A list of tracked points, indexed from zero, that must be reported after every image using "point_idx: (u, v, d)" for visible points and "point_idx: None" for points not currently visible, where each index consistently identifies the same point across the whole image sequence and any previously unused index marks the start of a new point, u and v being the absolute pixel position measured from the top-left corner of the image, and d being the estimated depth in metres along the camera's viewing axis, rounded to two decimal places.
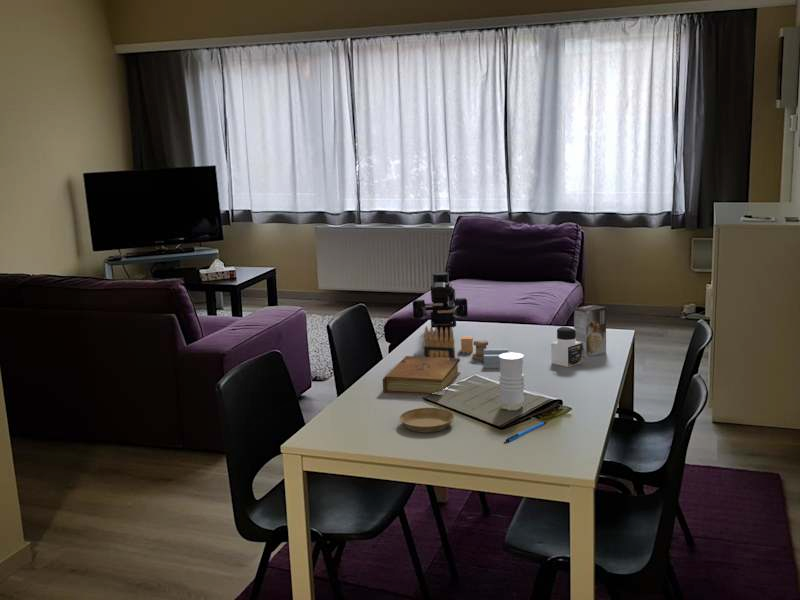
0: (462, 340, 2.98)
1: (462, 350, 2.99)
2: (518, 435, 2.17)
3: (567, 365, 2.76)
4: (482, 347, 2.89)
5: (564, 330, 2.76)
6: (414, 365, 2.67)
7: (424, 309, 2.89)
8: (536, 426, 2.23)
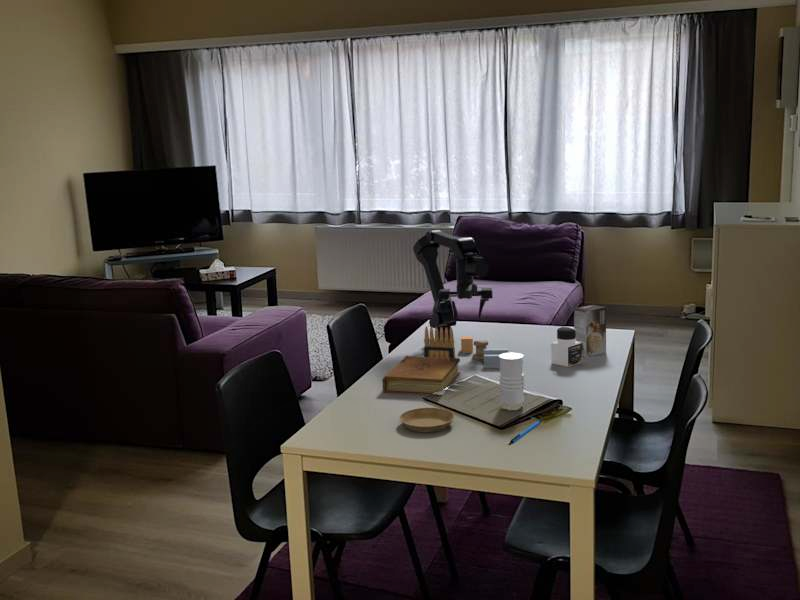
0: (462, 340, 2.98)
1: (462, 350, 2.99)
2: (520, 435, 2.17)
3: (567, 365, 2.76)
4: (482, 347, 2.89)
5: (564, 330, 2.76)
6: (414, 365, 2.67)
7: (451, 310, 2.97)
8: (533, 425, 2.24)
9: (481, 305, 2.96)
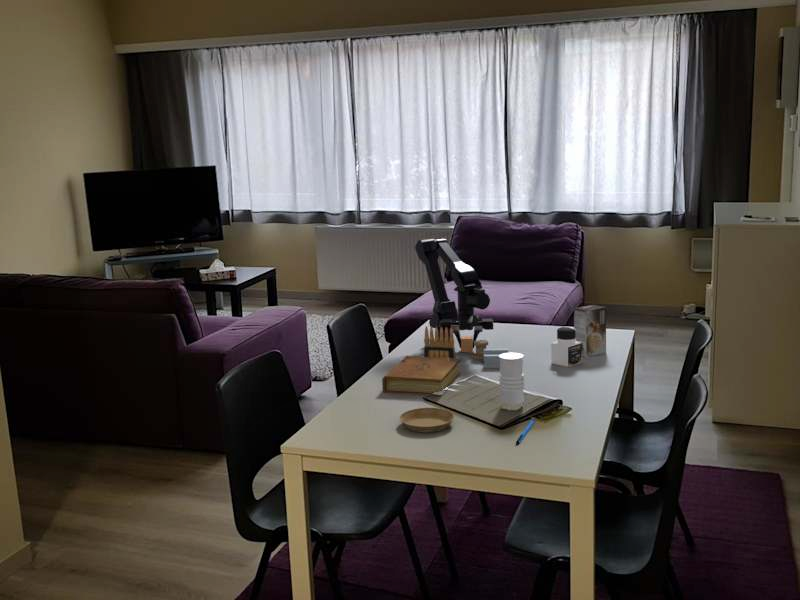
0: (462, 340, 2.98)
1: (462, 350, 2.99)
2: (523, 436, 2.17)
3: (567, 365, 2.76)
4: (482, 347, 2.89)
5: (564, 330, 2.76)
6: (414, 365, 2.67)
7: (459, 340, 2.99)
8: (530, 425, 2.24)
9: (475, 336, 2.98)
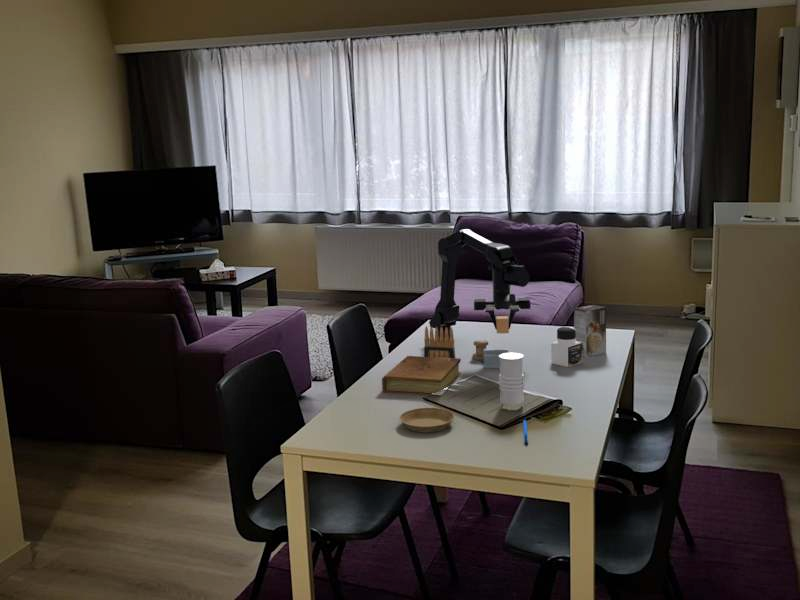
0: (497, 320, 2.85)
1: (497, 331, 2.86)
2: (527, 436, 2.17)
3: (567, 365, 2.76)
4: (482, 347, 2.89)
5: (564, 330, 2.76)
6: (414, 365, 2.67)
7: (494, 320, 2.86)
8: (526, 425, 2.25)
9: (511, 316, 2.85)
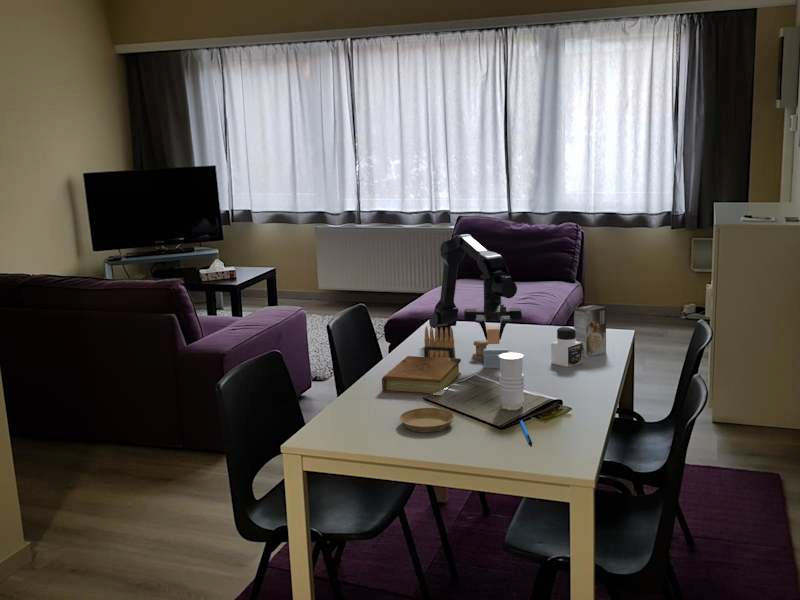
0: (488, 331, 2.79)
1: (488, 341, 2.80)
2: None
3: (567, 365, 2.76)
4: (482, 347, 2.89)
5: (564, 330, 2.76)
6: (414, 365, 2.67)
7: (485, 331, 2.80)
8: (524, 425, 2.25)
9: (502, 326, 2.79)
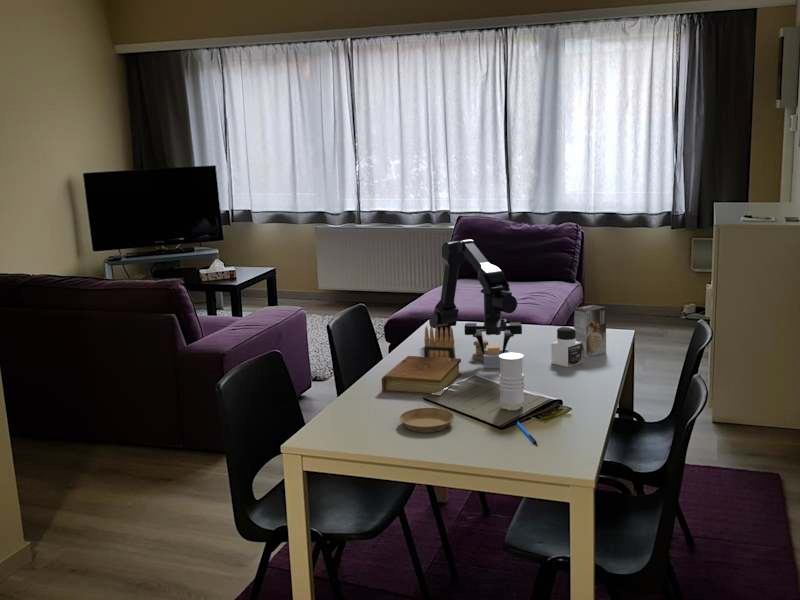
0: (488, 349, 2.81)
1: None
2: (530, 435, 2.17)
3: (567, 365, 2.76)
4: None
5: (564, 330, 2.76)
6: (414, 365, 2.67)
7: (482, 345, 2.81)
8: (521, 425, 2.25)
9: (505, 341, 2.80)
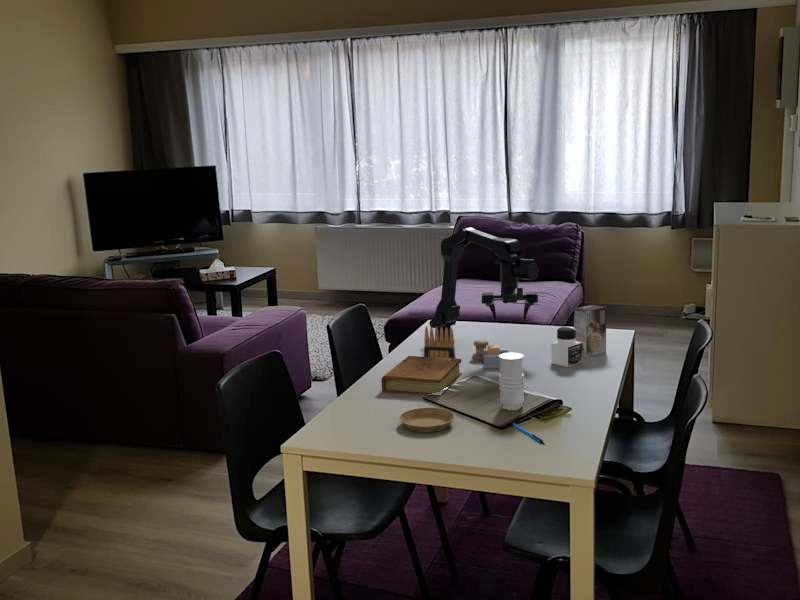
0: (488, 349, 2.81)
1: None
2: None
3: (567, 365, 2.76)
4: (482, 347, 2.89)
5: (564, 330, 2.76)
6: (414, 365, 2.67)
7: (494, 314, 2.88)
8: (517, 425, 2.24)
9: (526, 309, 2.86)
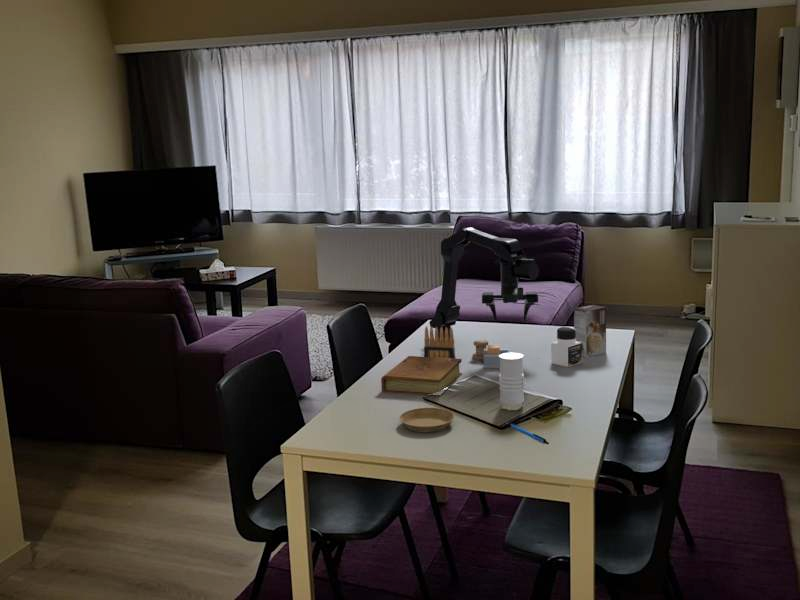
0: (488, 349, 2.81)
1: None
2: None
3: (567, 365, 2.76)
4: (482, 347, 2.89)
5: (564, 330, 2.76)
6: (414, 365, 2.67)
7: (494, 314, 2.88)
8: None
9: (526, 309, 2.86)
